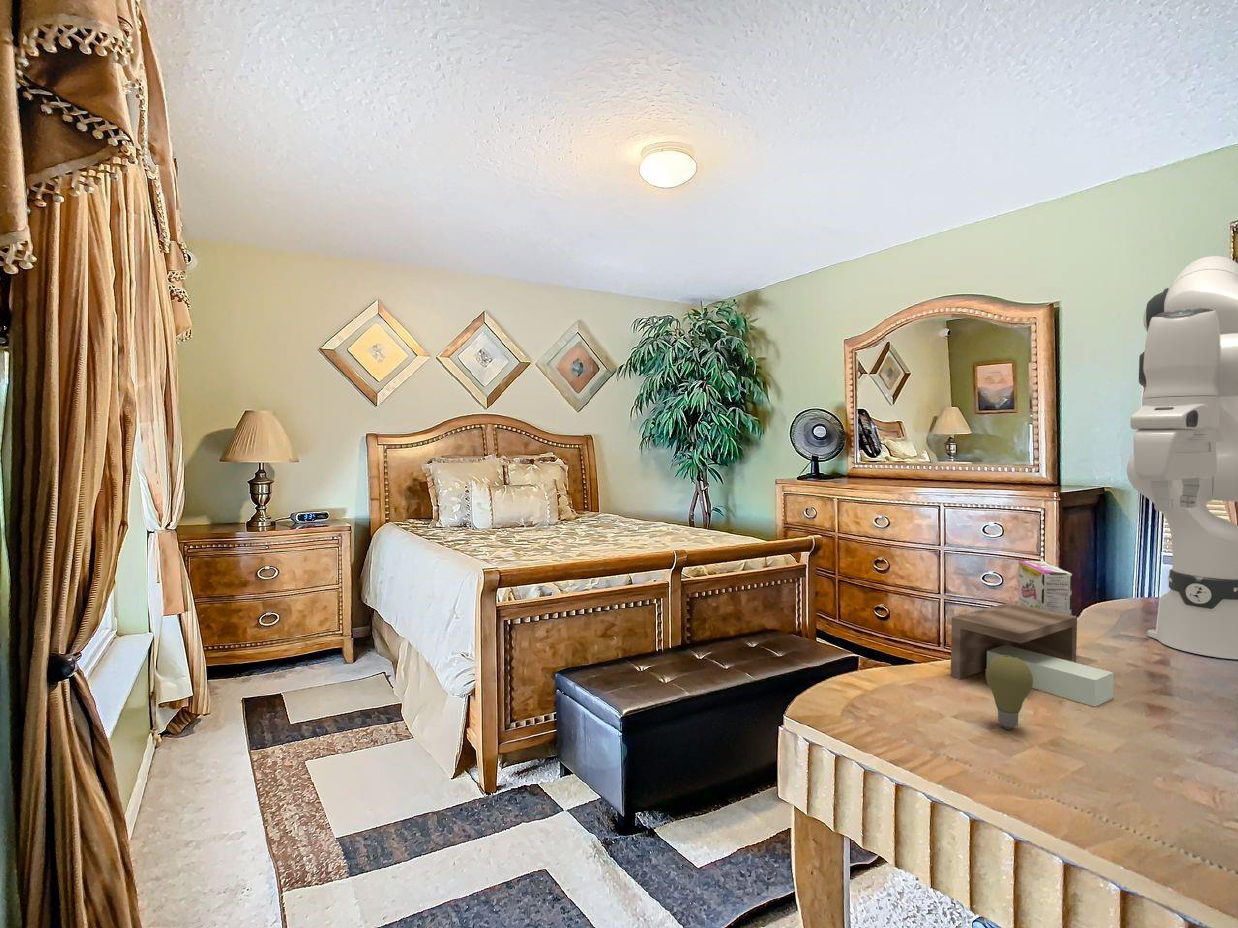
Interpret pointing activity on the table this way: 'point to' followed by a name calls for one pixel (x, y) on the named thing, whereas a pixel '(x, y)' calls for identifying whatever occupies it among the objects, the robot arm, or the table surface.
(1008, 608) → the walnut shelf
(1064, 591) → the candy bar box
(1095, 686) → the mint green beam
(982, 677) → the table surface
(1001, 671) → the light bulb
